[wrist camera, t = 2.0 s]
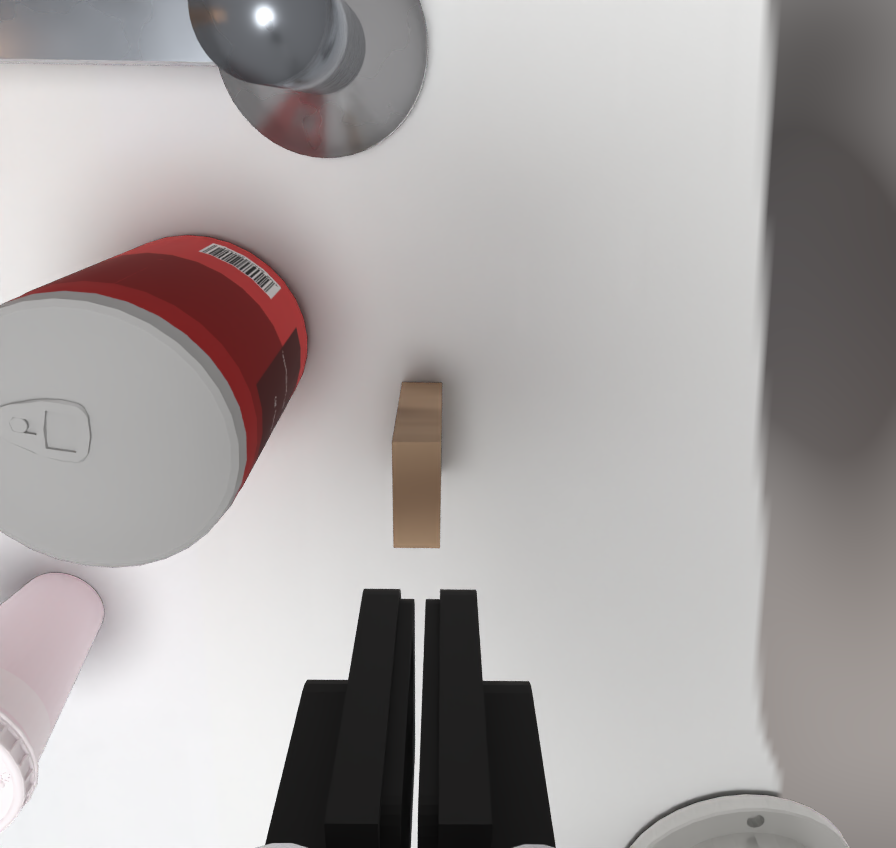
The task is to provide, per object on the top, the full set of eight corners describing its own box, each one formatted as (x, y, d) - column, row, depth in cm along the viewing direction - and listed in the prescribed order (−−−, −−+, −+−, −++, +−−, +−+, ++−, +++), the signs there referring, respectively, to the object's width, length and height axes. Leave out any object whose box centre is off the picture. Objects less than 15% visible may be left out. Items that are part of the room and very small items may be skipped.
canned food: (82, 240, 28) (-124, 310, 18) (294, 221, 28) (206, 281, 18) (133, 429, 31) (-21, 582, 21) (325, 413, 31) (265, 560, 21)
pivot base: (427, 157, 27) (427, 159, 26) (231, 155, 27) (224, 156, 26) (428, -72, 24) (428, -79, 24) (212, -75, 24) (202, -83, 24)
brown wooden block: (441, 472, 32) (439, 548, 26) (402, 472, 32) (393, 547, 26) (442, 382, 30) (440, 442, 25) (402, 382, 30) (391, 442, 25)
